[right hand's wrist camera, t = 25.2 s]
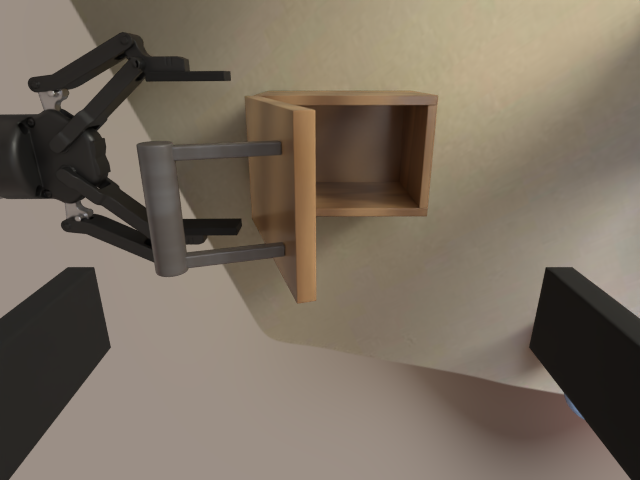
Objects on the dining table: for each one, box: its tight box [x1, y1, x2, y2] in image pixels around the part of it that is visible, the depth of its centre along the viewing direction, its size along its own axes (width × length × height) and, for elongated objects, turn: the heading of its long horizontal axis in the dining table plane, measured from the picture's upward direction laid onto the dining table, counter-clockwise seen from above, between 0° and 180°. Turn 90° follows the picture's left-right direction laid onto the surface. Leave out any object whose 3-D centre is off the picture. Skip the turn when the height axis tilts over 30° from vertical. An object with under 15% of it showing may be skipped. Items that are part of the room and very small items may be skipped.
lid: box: [137, 96, 316, 303], centre depth 27 cm, size 15×10×8 cm
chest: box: [254, 91, 438, 216], centre depth 40 cm, size 15×10×11 cm
